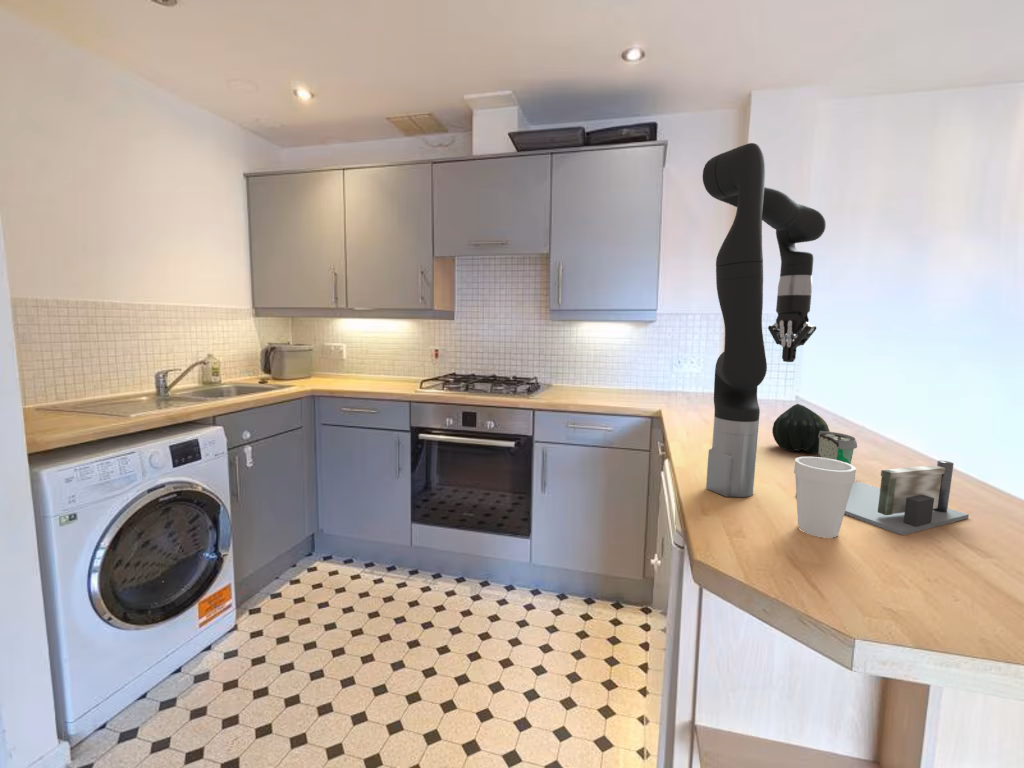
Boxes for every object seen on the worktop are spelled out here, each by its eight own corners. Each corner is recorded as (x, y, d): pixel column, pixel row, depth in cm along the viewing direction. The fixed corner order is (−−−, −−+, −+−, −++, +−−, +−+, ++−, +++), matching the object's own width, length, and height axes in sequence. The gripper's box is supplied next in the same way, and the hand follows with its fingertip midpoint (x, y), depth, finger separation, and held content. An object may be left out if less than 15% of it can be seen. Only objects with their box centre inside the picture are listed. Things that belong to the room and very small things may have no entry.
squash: (823, 443, 133) (830, 400, 140) (765, 436, 143) (774, 396, 149) (827, 467, 142) (833, 425, 149) (772, 459, 152) (780, 420, 158)
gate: (928, 505, 97) (933, 465, 96) (939, 508, 95) (945, 468, 94) (876, 511, 93) (881, 470, 92) (886, 515, 91) (891, 473, 90)
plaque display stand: (902, 535, 86) (909, 477, 85) (795, 496, 106) (800, 449, 104) (968, 518, 95) (975, 465, 93) (858, 485, 114) (863, 440, 113)
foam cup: (849, 547, 81) (857, 475, 80) (788, 534, 86) (794, 465, 85) (846, 527, 89) (853, 461, 88) (789, 516, 94) (795, 453, 93)
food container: (863, 481, 117) (868, 442, 115) (836, 479, 118) (840, 441, 117) (840, 467, 129) (843, 431, 127) (815, 465, 130) (818, 430, 129)
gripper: (829, 293, 115) (822, 363, 117) (783, 296, 128) (778, 359, 130) (806, 292, 113) (799, 364, 115) (761, 295, 125) (756, 360, 128)
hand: (788, 361), depth 122 cm, fingers closed
